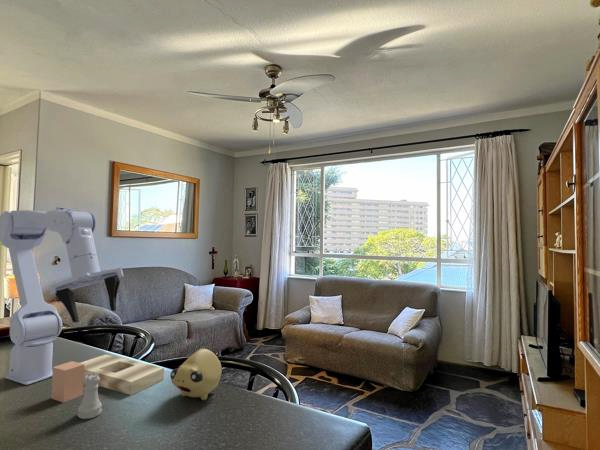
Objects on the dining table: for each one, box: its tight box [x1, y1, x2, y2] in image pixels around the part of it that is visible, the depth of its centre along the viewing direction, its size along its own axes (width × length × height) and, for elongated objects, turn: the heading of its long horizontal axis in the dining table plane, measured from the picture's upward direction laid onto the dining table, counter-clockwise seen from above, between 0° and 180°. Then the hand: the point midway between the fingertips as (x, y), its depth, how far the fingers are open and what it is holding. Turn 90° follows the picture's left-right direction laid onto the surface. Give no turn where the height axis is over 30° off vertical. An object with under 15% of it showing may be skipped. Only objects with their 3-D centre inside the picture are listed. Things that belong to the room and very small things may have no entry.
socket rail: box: [80, 354, 165, 396], centre depth 91 cm, size 22×10×3 cm, turn 66°
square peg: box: [50, 360, 85, 404], centre depth 81 cm, size 4×4×7 cm
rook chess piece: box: [76, 373, 103, 420], centre depth 73 cm, size 4×4×8 cm
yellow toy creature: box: [170, 348, 222, 401], centre depth 82 cm, size 10×12×11 cm
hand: (95, 316), depth 79 cm, fingers open, 7 cm apart
